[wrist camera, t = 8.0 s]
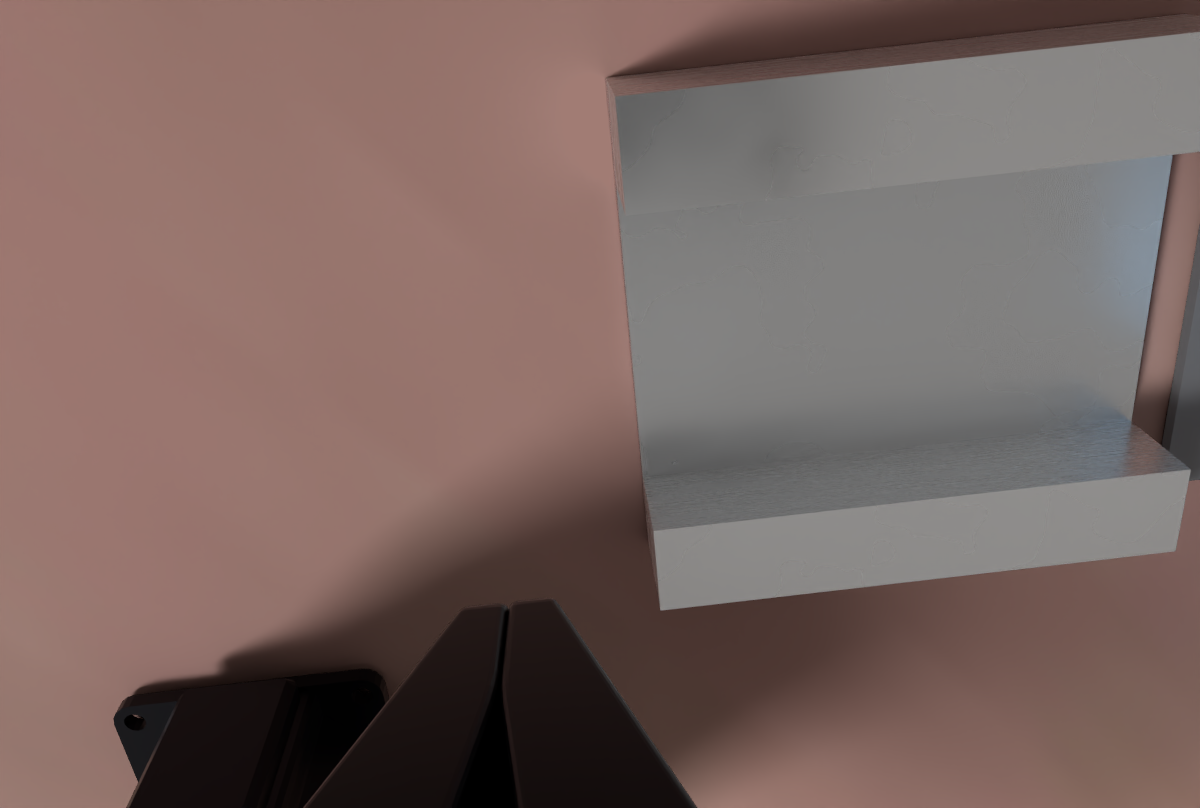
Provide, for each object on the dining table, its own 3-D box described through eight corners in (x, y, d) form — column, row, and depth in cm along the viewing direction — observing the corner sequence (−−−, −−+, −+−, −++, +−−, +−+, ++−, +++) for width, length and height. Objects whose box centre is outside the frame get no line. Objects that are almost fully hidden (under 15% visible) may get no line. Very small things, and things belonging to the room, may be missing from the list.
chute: (648, 544, 23) (660, 610, 20) (605, 77, 18) (615, 97, 16) (1112, 491, 23) (1175, 551, 21) (1184, 13, 18) (1275, 23, 16)
